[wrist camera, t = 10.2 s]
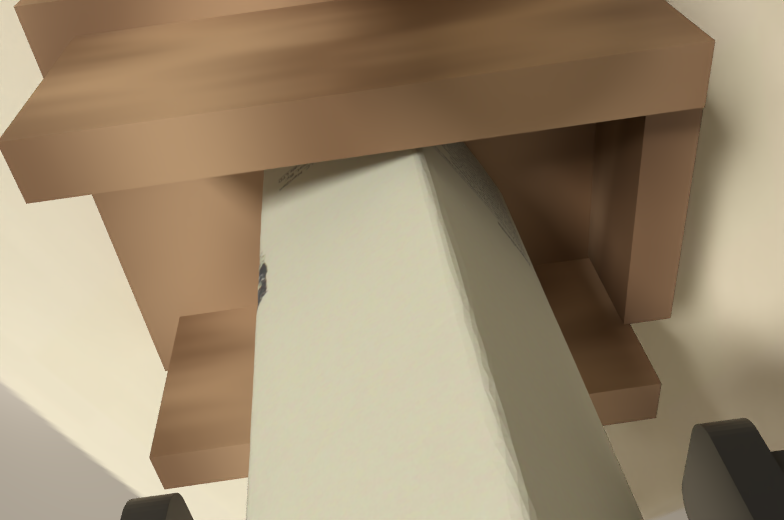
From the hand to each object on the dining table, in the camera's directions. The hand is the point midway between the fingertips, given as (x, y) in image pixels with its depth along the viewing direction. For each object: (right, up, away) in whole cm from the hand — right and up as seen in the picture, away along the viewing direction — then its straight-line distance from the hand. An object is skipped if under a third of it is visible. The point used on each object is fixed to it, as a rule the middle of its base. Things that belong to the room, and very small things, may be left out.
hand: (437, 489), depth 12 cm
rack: (-1, +6, +8) cm, 10 cm away
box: (-1, +6, +8) cm, 10 cm away
